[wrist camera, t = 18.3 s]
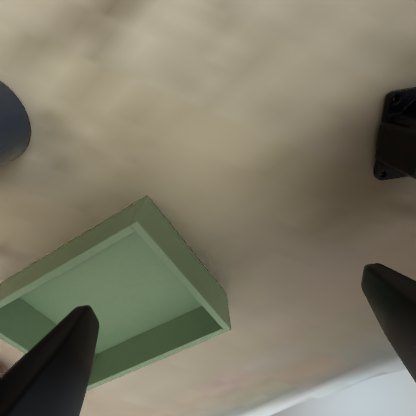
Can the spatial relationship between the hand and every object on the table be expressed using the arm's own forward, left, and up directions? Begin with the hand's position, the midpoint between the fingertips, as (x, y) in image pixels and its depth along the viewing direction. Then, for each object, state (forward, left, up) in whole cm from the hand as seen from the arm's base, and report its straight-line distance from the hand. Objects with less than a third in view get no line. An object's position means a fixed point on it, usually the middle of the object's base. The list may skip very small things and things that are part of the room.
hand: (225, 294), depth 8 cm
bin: (+11, +11, -13) cm, 20 cm away
